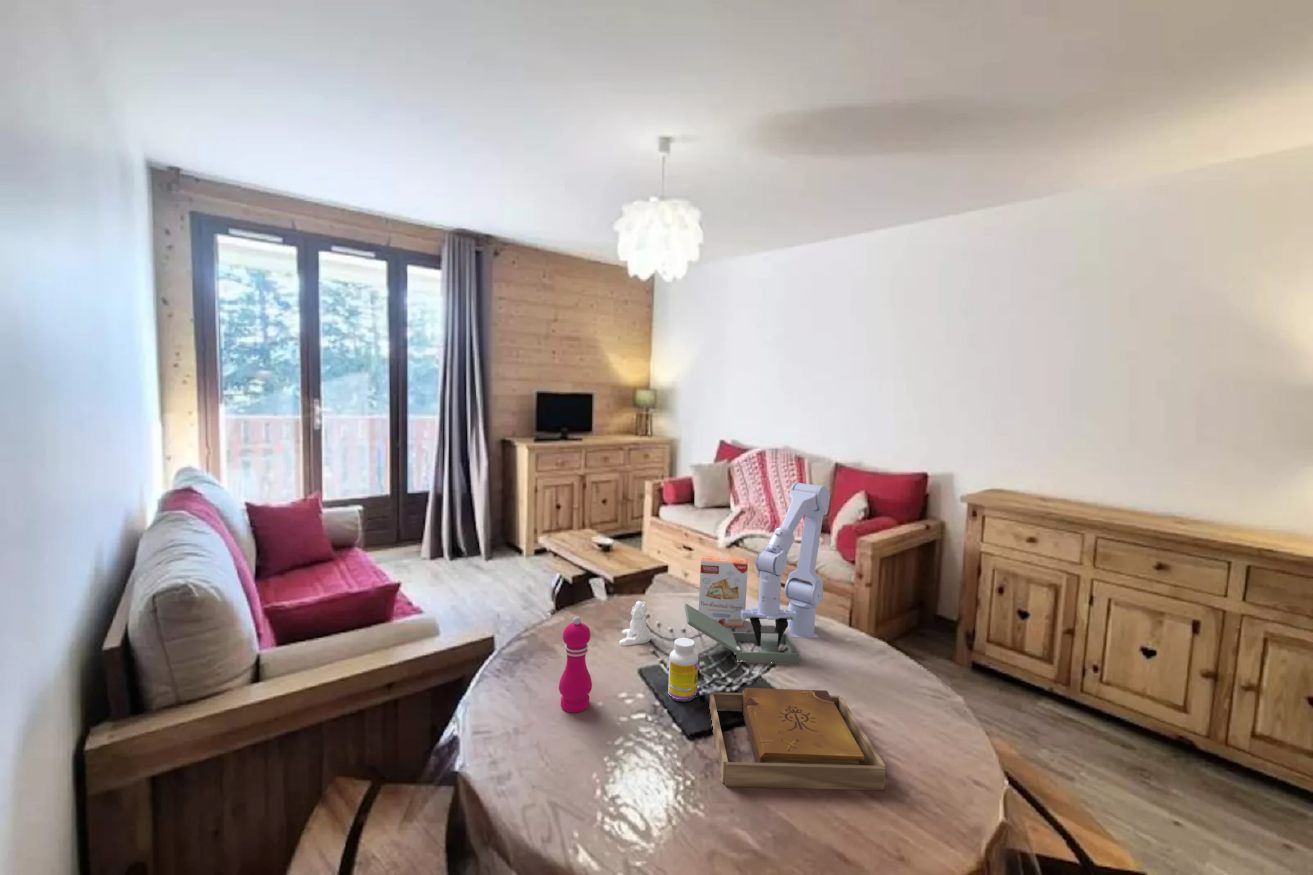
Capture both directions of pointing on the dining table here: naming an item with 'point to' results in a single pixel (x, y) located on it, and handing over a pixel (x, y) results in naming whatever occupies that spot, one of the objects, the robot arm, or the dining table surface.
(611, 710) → the dining table surface
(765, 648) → the block
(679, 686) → the supplement bottle
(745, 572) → the cracker box
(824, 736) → the diary
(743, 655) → the case
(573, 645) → the pepper mill
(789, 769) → the desk tray
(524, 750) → the dining table surface
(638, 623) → the white creature statuette
